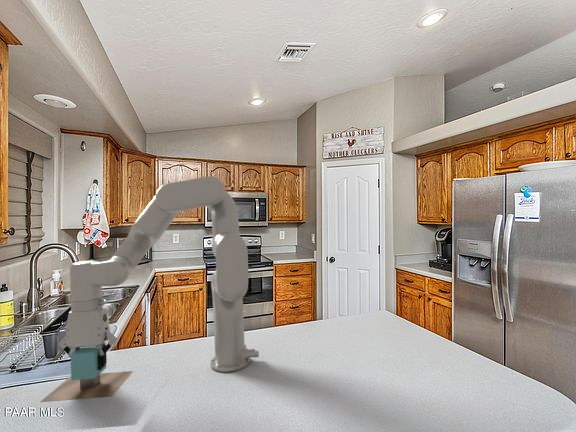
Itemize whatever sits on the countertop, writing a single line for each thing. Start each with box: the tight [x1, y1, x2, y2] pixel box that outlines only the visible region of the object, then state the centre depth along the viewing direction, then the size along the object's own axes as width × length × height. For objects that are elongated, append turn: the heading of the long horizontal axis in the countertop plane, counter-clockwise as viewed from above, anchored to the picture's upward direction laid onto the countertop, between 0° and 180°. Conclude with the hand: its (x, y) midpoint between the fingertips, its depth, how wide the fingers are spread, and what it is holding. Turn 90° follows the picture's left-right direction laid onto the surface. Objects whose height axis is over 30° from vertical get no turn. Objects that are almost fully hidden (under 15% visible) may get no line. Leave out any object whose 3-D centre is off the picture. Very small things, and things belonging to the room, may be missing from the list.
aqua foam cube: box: [70, 346, 107, 380], centre depth 92 cm, size 6×6×7 cm
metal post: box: [80, 374, 100, 389], centre depth 92 cm, size 4×4×6 cm
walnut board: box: [39, 370, 134, 403], centre depth 92 cm, size 18×14×2 cm
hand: (89, 368), depth 92 cm, fingers closed on aqua foam cube, 6 cm apart
